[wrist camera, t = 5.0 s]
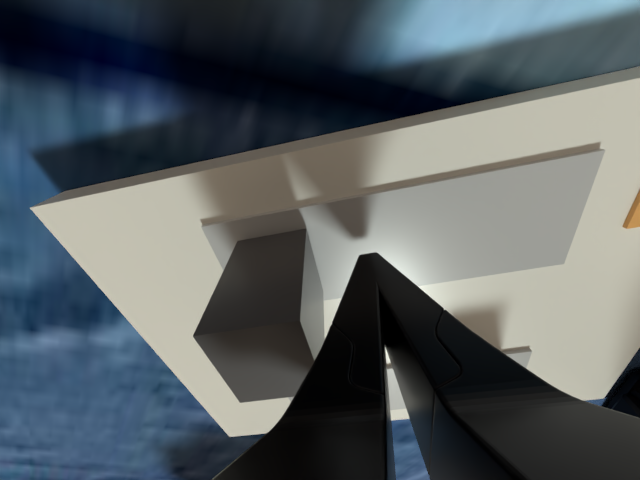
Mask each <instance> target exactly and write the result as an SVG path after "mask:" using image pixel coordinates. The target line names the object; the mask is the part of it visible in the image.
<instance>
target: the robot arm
mask: <svg viewBox="0 0 640 480" xmlns="http://www.w3.org/2000/svg"><path fill="white" fill-rule="evenodd" d="M385 347H386V350H387V353H388V356H389V359H390V362H391V365H392V368H393V371H394V374H395V377H396V380H397V382H398V385H399V388H400V391H401V394H402V397H403V400H404V403H405V406H406V409H407V412H408V415H409V418H410V421H411V424H412V427H413V430H414V433H415V436H416V439H417V442H418V445H419V448H420V451H421V454H422V456H423V459H424V462H425V465H426V468H427V471H428V474H429V475H430V480H640V370H638V371H635V372H633V373H632V374H631V375H630V376H629V378H628V379H627V380H626V382H625V383H624V384H623V386H622V387H621V388H620V390H619V391H618V392H617V394H616V395H615V396H614V398H613V399H612V400H611V402H610V403H609V405H608V406H607V407H606V408H605V407H602V406H598V405H595V404H592V403H589V402H586V401H583V400H580V399H578V398H576V397H573V396H571V395H569V394H567V393H565V392H563V391H561V390H559V389H557V388H556V387H554V386H552V385H550V384H549V383H547V382H546V381H544V380H543V379H541V378H540V377H538V376H537V375H535V374H534V373H532V372H531V371H529V370H528V369H526V368H525V367H523V366H522V365H521V364H519V363H518V362H516V361H515V360H513V359H512V358H510V357H509V356H507V355H506V354H504V353H503V352H501V351H500V350H499V349H497V348H496V347H494V346H493V345H491V344H490V343H488V342H487V341H486V340H484V339H483V338H481V337H480V336H479V335H477V334H476V333H474V332H473V331H472V330H470V329H469V328H468V327H466V326H465V325H464V324H463V323H461V322H460V321H459V320H458V319H456V318H455V317H454V316H453V315H451V314H450V313H449V312H448V311H447V310H444V308H443V307H442V306H441V305H439V304H438V303H437V302H436V301H435V300H433V299H432V298H431V297H430V296H429V295H427V294H426V293H425V292H424V291H423V290H421V289H420V288H419V287H418V286H417V285H416V284H414V283H413V282H412V281H411V280H410V279H408V278H407V277H406V276H405V275H404V274H402V273H401V272H400V271H399V270H398V269H396V268H395V267H394V266H393V265H392V264H390V263H389V262H388V261H387V260H386V259H384V258H383V257H382V256H381V255H380V254H378V253H377V252H373V253H367V254H361V255H359V256H358V259H357V261H356V264H355V266H354V269H353V271H352V274H351V276H350V279H349V281H348V284H347V286H346V289H345V291H344V294H343V296H342V299H341V301H340V304H339V306H338V309H337V311H336V314H335V316H334V319H333V321H332V325H331V326H330V328H329V331H328V333H327V336H326V338H325V340H324V343H323V345H322V347H321V349H320V351H319V353H318V355H317V357H316V359H315V361H314V362H313V364H312V366H311V368H310V370H309V371H308V373H307V375H306V377H305V378H304V380H303V382H302V384H301V385H300V387H299V389H298V391H297V393H296V394H295V396H294V398H293V400H292V401H291V403H290V405H289V406H288V408H287V410H286V411H285V413H284V414H283V416H282V417H281V419H280V420H279V421H278V422H277V424H276V425H275V426H274V427H273V428H272V429H271V430H270V431H269V432H268V433H267V434H265V435H264V436H263V437H262V438H261V439H259V440H258V441H257V442H256V443H255V444H253V445H252V446H251V447H250V448H249V449H247V450H246V451H245V452H244V453H243V454H241V455H240V456H239V457H238V458H237V459H235V460H234V461H233V462H232V463H231V464H229V465H228V466H227V467H226V468H225V469H223V470H222V471H221V472H220V473H219V474H218V475H216V476H215V477H214V478H213V479H212V480H396V475H395V462H394V450H393V437H392V425H391V413H390V400H389V388H388V375H387V363H386V350H385Z"/></svg>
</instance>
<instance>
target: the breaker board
mask: <svg viewBox="0 0 640 480" xmlns="http://www.w3.org/2000/svg"><path fill="white" fill-rule="evenodd" d="M30 209H31V210H32V211H33V212H34V213H35V214H36V216H37V217H38V218H39V219H40V220H41V221H42V222H43V224H44V225H45V226H46V227H47V228H48V229H49V230H50V232H51V233H52V234H53V235H54V236H55V237H56V238H57V240H58V241H59V242H60V243H61V244H62V245H63V246H64V248H65V249H66V250H67V251H68V252H69V253H70V255H71V256H72V257H73V258H74V259H75V260H76V261H77V263H78V264H79V265H80V266H81V267H82V268H83V269H84V271H85V272H86V273H87V274H88V275H89V276H90V277H91V279H92V280H93V281H94V282H95V283H96V284H97V285H98V287H99V288H100V289H101V290H102V291H103V292H104V294H105V295H106V296H107V297H108V298H109V299H110V300H111V302H112V303H113V304H114V305H115V306H116V307H117V308H118V310H119V311H120V312H121V313H122V314H123V315H124V316H125V318H126V319H127V320H128V321H129V322H130V323H131V325H132V326H133V327H134V328H135V329H136V330H137V331H138V333H139V334H140V335H141V336H142V337H143V338H144V339H145V341H146V342H147V343H148V344H149V345H150V346H151V347H152V349H153V350H154V351H155V352H156V353H157V354H158V355H159V357H160V358H161V359H162V360H163V361H164V362H165V364H166V365H167V366H168V367H169V368H170V369H171V370H172V372H173V373H174V374H175V375H176V376H177V377H178V378H179V380H180V381H181V382H182V383H183V384H184V385H185V386H186V388H187V389H188V390H189V391H190V392H191V393H192V394H193V396H194V397H195V398H196V399H197V400H198V401H199V403H200V404H201V405H202V406H203V407H204V408H205V409H206V411H207V412H208V413H209V414H210V415H211V416H212V417H213V419H214V420H215V421H216V422H217V423H218V424H219V425H220V427H221V428H222V429H223V430H224V431H225V432H226V433H227V435H228V436H229V437H236V436H245V435H255V434H265V433H268V432H269V431H270V430H271V429H272V428H273V427H274V426H275V425H276V424H277V422H278V421H279V420H280V419H281V417H282V416H283V414H284V413H285V411H286V410H287V408H288V406H289V405H290V403H291V401H292V400H293V398H294V397H287V398H278V399H269V400H261V401H252V402H244V403H240V402H239V401H238V399H237V398H236V396H235V395H234V394H233V392H232V391H231V389H230V388H229V387H228V385H227V384H226V382H225V381H224V380H223V378H222V377H221V375H220V374H219V373H218V371H217V370H216V368H215V367H214V366H213V364H212V363H211V361H210V360H209V359H208V357H207V356H206V354H205V353H204V352H203V350H202V349H201V347H200V346H199V345H198V343H197V342H196V340H195V339H194V338H193V335H194V332H195V330H196V328H197V326H198V324H199V322H200V320H201V318H202V315H203V313H204V311H205V309H206V307H207V305H208V303H209V300H210V298H211V296H212V294H213V292H214V290H215V288H216V286H217V283H218V281H219V279H220V277H221V275H222V273H223V271H224V269H225V266H226V264H227V262H228V260H229V258H230V256H231V254H232V252H233V249H234V247H235V245H236V243H237V241H240V240H245V239H251V238H256V237H262V236H267V235H273V234H278V233H284V232H289V231H295V230H300V229H307V232H308V236H309V240H310V244H311V247H312V251H313V255H314V258H315V262H316V266H317V270H318V273H319V277H320V281H321V285H322V288H323V297H324V336H325V338H326V336H327V333H328V331H329V328H330V326H331V325H332V321H333V319H334V316H335V314H336V311H337V309H338V306H339V304H340V301H341V299H342V296H343V294H344V291H345V289H346V286H347V284H348V281H349V279H350V276H351V274H352V271H353V269H354V266H355V264H356V261H357V259H358V256H359V255H361V254H367V253H373V252H377V253H378V254H380V255H381V256H382V257H383V258H384V259H386V260H387V261H388V262H389V263H390V264H392V265H393V266H394V267H395V268H396V269H398V270H399V271H400V272H401V273H402V274H404V275H405V276H406V277H407V278H408V279H410V280H411V281H412V282H413V283H414V284H416V285H417V286H418V287H419V288H420V289H421V290H423V291H424V292H425V293H426V294H427V295H429V296H430V297H431V298H432V299H433V300H435V301H436V302H437V303H438V304H439V305H441V306H442V307H443V308H444V310H447V311H448V312H449V313H450V314H451V315H453V316H454V317H455V318H456V319H458V320H459V321H460V322H461V323H463V324H464V325H465V326H466V327H468V328H469V329H470V330H472V331H473V332H474V333H476V334H477V335H479V336H480V337H481V338H483V339H484V340H486V341H487V342H488V343H490V344H491V345H493V346H494V347H496V348H497V349H499V350H500V351H501V352H503V353H504V354H506V355H507V356H509V357H510V358H512V359H513V360H515V361H516V362H518V363H519V364H521V365H522V366H523V367H525V368H526V369H528V370H529V371H531V372H532V373H534V374H535V375H537V376H538V377H540V378H541V379H543V380H544V381H546V382H547V383H549V384H550V385H552V386H554V387H556V388H557V389H559V390H561V391H563V392H565V393H567V394H569V395H571V396H573V397H576V398H578V399H580V400H583V401H584V400H594V399H604V397H605V396H606V395H607V393H608V392H609V390H610V389H611V388H612V386H613V385H614V383H615V382H616V380H617V379H618V378H619V376H620V375H621V373H622V372H623V371H624V369H625V368H626V366H627V365H628V364H629V362H630V361H631V359H632V358H633V356H634V355H635V354H636V352H637V351H638V349H639V348H640V66H639V67H634V68H629V69H625V70H620V71H616V72H611V73H606V74H602V75H597V76H593V77H588V78H583V79H579V80H574V81H570V82H565V83H560V84H556V85H551V86H546V87H542V88H537V89H533V90H528V91H523V92H519V93H514V94H510V95H505V96H500V97H496V98H491V99H487V100H482V101H477V102H473V103H468V104H464V105H459V106H454V107H450V108H445V109H441V110H436V111H431V112H427V113H422V114H417V115H413V116H408V117H404V118H399V119H394V120H390V121H385V122H381V123H376V124H371V125H367V126H362V127H358V128H353V129H348V130H344V131H339V132H335V133H330V134H325V135H321V136H316V137H312V138H307V139H302V140H298V141H293V142H288V143H284V144H279V145H275V146H270V147H265V148H261V149H256V150H252V151H247V152H242V153H238V154H233V155H229V156H224V157H219V158H215V159H210V160H206V161H201V162H196V163H192V164H187V165H183V166H178V167H173V168H169V169H164V170H159V171H155V172H150V173H146V174H141V175H136V176H132V177H127V178H123V179H118V180H113V181H109V182H104V183H100V184H95V185H90V186H86V187H81V188H77V189H72V190H67V191H64V192H62V193H60V194H58V195H56V196H53V197H51V198H49V199H47V200H45V201H43V202H41V203H39V204H37V205H35V206H33V207H30ZM385 350H386V347H385ZM386 363H387V375H388V388H389V400H390V413H391V420H400V419H410V418H409V415H408V412H407V409H406V406H405V403H404V400H403V397H402V394H401V391H400V388H399V385H398V382H397V380H396V377H395V374H394V371H393V368H392V365H391V362H390V359H389V356H388V353H387V350H386Z"/></svg>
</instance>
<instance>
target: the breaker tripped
mask: <svg viewBox="0 0 640 480" xmlns="http://www.w3.org/2000/svg"><path fill="white" fill-rule="evenodd" d="M193 338H194V339H195V340H196V342H197V343H198V345H199V346H200V347H201V349H202V350H203V352H204V353H205V354H206V356H207V357H208V359H209V360H210V361H211V363H212V364H213V366H214V367H215V368H216V370H217V371H218V373H219V374H220V375H221V377H222V378H223V380H224V381H225V382H226V384H227V385H228V387H229V388H230V389H231V391H232V392H233V394H234V395H235V396H236V398H237V399H238V401H239V402H240V403H244V402H252V401H261V400H269V399H278V398H287V397H294V396H295V394H296V393H297V391H298V389H299V387H300V385H301V384H302V382H303V380H304V378H305V377H306V375H307V373H308V371H309V370H310V368H311V366H312V364H313V362H314V361H315V359H316V357H317V355H318V353H319V351H320V349H321V347H322V345H323V343H324V340H325V336H324V297H323V288H322V285H321V281H320V277H319V273H318V270H317V266H316V262H315V258H314V255H313V251H312V247H311V244H310V240H309V236H308V232H307V229H300V230H295V231H289V232H284V233H278V234H273V235H267V236H262V237H256V238H251V239H245V240H240V241H237V243H236V245H235V247H234V249H233V252H232V254H231V256H230V258H229V260H228V262H227V264H226V266H225V269H224V271H223V273H222V275H221V277H220V279H219V281H218V283H217V286H216V288H215V290H214V292H213V294H212V296H211V298H210V300H209V303H208V305H207V307H206V309H205V311H204V313H203V315H202V318H201V320H200V322H199V324H198V326H197V328H196V330H195V332H194V335H193Z"/></svg>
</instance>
